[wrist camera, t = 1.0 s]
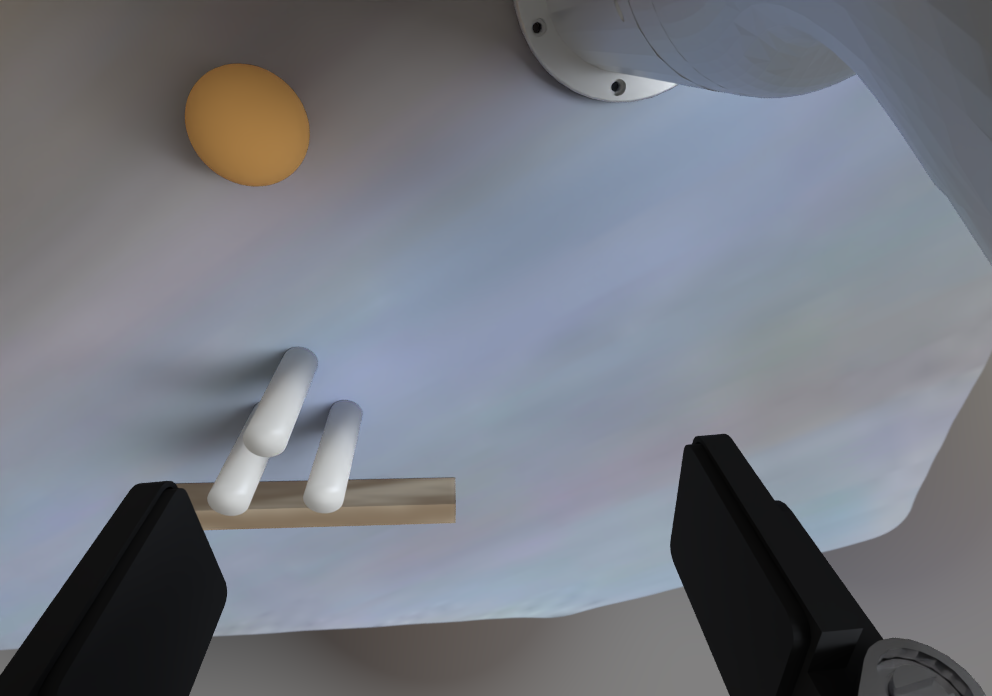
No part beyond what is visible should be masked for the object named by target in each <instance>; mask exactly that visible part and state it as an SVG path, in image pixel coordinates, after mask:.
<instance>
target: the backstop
mask: <svg viewBox="0 0 992 696" xmlns="http://www.w3.org/2000/svg"><path fill="white" fill-rule="evenodd" d="M307 482H308V481H276V482H259V483H258V486H257V488H256V490H255V493H254V495H253V498H252V500H251V502H250V505H249V507H248V509H247V510H246V511H245V512H244V513H242V514H240V515H236V516H227V515H222V514H220V513H218V512H216V511H214V510H213V509H212V508H211V507H210V506H209V504H208V500H207V497H208V494H209V492H210V490H211V488H212V487H213V485H214V483H184V484H176V485H177V487H178V488H183V489H185V490H186V492H187V493H188V496H189V498H190V500H191V503H192V505H193V507H194V510H195V512H196V514H197V517H198V519H199V521H200V524H201V526H202V528H203V530H226V529H261V528H295V527H330V526H365V525H400V524H434V523H455V515H456V500H455V478H414V479H368V480H348V483H347V488H346V492H345V497H344V501H343V504H342V506H341V507H340V508H339V509H338V510H336V511H334V512H331V513H318V512H315V511H313V510H311V509H309V508H308V507H307V506H306V505H305V503H304V500H303V495H304V492H305V489H306V486H307Z"/></svg>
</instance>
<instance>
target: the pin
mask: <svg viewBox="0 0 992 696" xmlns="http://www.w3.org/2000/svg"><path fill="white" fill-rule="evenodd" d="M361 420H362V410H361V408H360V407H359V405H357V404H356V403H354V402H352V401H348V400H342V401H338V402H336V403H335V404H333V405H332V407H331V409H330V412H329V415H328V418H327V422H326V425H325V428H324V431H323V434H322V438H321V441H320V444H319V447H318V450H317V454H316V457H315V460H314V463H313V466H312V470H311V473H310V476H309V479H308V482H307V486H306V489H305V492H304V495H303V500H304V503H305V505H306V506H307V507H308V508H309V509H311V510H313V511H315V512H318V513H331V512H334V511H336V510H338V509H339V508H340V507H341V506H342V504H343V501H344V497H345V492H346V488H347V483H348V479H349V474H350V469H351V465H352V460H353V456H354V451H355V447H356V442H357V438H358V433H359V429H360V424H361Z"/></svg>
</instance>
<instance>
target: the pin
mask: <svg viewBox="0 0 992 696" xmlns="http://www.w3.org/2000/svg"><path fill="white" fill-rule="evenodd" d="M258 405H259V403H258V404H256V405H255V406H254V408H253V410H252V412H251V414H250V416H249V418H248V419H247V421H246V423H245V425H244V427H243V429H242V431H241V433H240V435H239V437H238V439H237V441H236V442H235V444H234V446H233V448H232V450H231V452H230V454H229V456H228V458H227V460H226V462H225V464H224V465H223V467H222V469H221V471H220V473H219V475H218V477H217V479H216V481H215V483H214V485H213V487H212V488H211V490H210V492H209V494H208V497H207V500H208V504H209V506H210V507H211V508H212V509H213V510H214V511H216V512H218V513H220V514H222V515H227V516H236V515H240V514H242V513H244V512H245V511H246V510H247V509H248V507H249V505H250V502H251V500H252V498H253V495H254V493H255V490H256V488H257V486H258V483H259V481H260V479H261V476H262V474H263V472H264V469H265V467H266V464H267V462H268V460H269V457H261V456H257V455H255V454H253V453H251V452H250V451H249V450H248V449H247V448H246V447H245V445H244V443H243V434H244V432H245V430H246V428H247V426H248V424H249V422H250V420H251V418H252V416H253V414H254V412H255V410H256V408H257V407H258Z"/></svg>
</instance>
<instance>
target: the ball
mask: <svg viewBox="0 0 992 696" xmlns="http://www.w3.org/2000/svg"><path fill="white" fill-rule="evenodd" d="M185 124H186V130H187V134H188V137H189V139H190V142H191V144H192V146H193V148H194V150H195V151H196V153H197V154H198V156H199V157H200V158H201V160H202V161H203V162H204V163H205V164H206V165H207V166H208V167H209V168H210V169H211V170H213V171H214V172H215V173H217V174H218V175H220V176H222V177H223V178H225V179H227V180H229V181H232V182H235V183H238V184H241V185H246V186H266V185H272V184H275V183H278V182H280V181H282V180H284V179H286V178H287V177H288V176H290V175H291V174H292V173H293V172H294V171H296V170H297V168H298V167H299V166H300V164H301V163H302V161H303V159H304V158H305V155H306V153H307V150H308V145H309V137H310V130H309V122H308V118H307V114H306V111H305V109H304V107H303V104H302V103H301V101H300V99H299V98H298V96H297V95H296V93H295V92H294V91H293V90H292V89H291V87H290V86H289V85H288V84H287V83H285V82H284V81H283V80H282V79H281V78H279V77H278V76H276V75H275V74H273V73H271V72H270V71H268V70H266V69H263V68H261V67H258V66H254V65H249V64H228V65H223V66H220V67H217V68H214V69H213V70H211V71H209V72H207V73H206V74H205V75H203V76H202V77H201V78H200V79H199V80H198V81H197V82H196V84H195V85H194V86H193V88H192V89H191V91H190V94H189V96H188V99H187V103H186V108H185Z"/></svg>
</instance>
